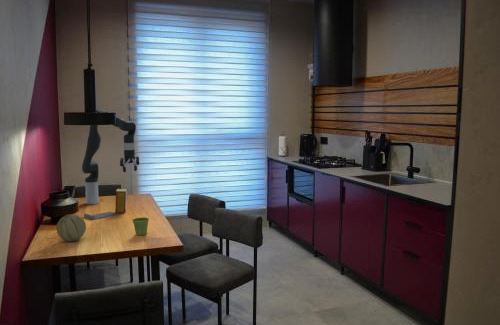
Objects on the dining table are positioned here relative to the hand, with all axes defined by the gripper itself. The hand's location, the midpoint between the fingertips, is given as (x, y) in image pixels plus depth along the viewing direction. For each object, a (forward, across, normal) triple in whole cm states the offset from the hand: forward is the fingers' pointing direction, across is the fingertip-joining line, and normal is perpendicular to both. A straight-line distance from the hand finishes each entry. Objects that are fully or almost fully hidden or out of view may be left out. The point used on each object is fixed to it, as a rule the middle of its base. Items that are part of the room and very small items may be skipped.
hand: (130, 171), depth 297 cm
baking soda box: (+28, +9, 0) cm, 29 cm away
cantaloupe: (+28, +62, +42) cm, 81 cm away
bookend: (+28, +22, 0) cm, 36 cm away
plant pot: (+28, +30, +60) cm, 73 cm away
